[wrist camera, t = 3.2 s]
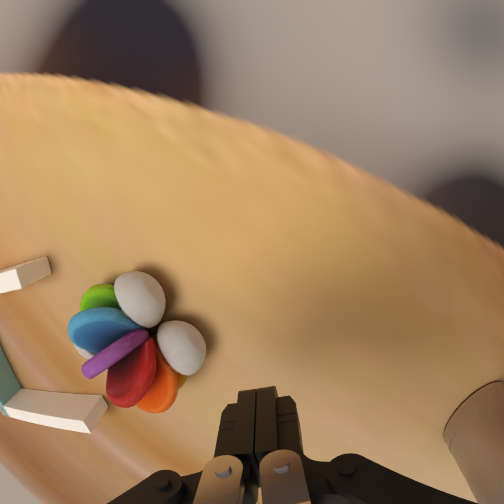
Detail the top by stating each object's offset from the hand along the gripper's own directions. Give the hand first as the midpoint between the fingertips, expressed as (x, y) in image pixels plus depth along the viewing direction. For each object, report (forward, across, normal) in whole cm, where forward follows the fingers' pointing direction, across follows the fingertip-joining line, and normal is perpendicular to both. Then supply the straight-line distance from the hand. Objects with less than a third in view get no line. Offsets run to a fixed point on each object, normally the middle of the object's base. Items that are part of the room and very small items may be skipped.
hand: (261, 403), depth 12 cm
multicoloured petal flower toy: (+10, +9, 0) cm, 13 cm away
